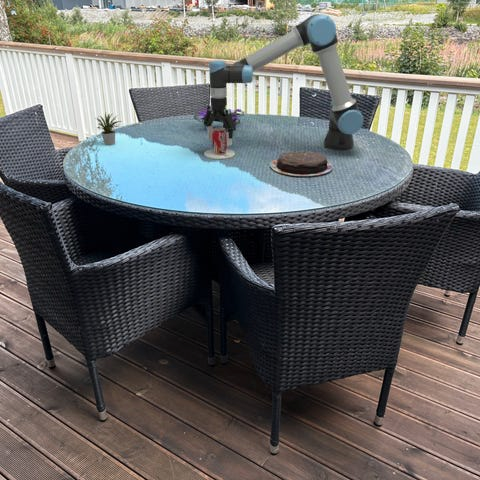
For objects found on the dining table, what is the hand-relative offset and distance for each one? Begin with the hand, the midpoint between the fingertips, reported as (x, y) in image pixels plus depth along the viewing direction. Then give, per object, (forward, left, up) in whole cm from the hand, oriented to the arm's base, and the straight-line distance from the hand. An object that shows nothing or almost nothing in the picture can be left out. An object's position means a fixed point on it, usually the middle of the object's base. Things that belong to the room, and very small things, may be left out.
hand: (219, 142), depth 221 cm
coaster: (0, 0, -6) cm, 6 cm away
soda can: (0, 0, -5) cm, 5 cm away
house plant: (+54, +29, -6) cm, 62 cm away
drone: (+38, -34, -6) cm, 51 cm away
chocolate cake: (-40, -13, -7) cm, 42 cm away
